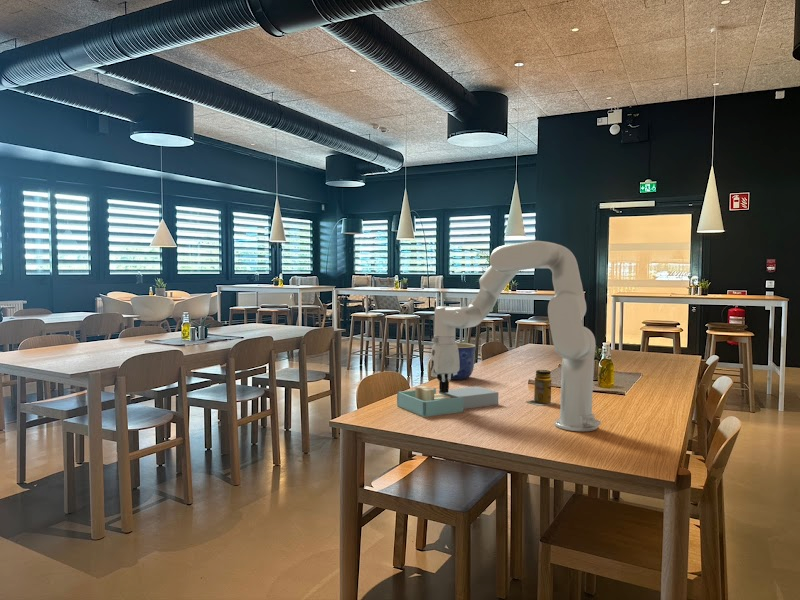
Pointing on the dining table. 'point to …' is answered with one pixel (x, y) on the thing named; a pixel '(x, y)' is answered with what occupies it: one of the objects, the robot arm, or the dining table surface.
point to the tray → (428, 404)
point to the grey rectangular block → (474, 396)
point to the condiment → (542, 388)
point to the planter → (465, 360)
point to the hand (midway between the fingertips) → (444, 392)
